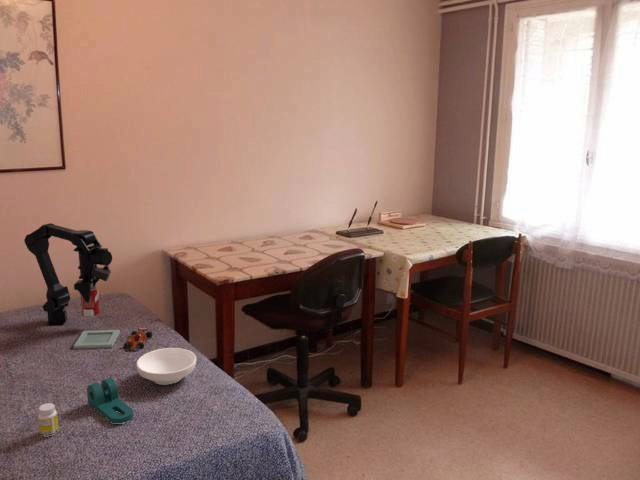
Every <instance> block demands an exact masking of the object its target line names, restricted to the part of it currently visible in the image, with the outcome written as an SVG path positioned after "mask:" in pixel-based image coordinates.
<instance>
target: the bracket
mask: <svg viewBox="0 0 640 480" xmlns="http://www.w3.org/2000/svg"><path fill="white" fill-rule="evenodd" d="M86 394H87V404H89V406H90V405H91V406H92V407H93V408H95V409H96V410H97V411H98V412H99V413H101V414H102V415H103V416H104V417H106V418H107V419H108V420H109V421H110V422H112V423H123V422H127V421H129V420H131V419H132V417H133V418H134V409H133V408H132V407H130V406H129V405H128V404H127V403H125V402H124V401H123V400H121V399H120V397H119V388H118V385H117V382H116V381H115V379H114V378H113V377H108V378H105V379H103V380H101V382H100V383H98V382H94V383H91V384H88V385H87V387H86ZM91 406H90V407H91ZM92 407H91V408H92ZM93 408H92V409H93ZM96 410H95V411H96ZM97 411H96V412H97ZM116 411H118V412H120V413H121V414H122V415H120V414H119V413H118V412H116ZM98 412H97V413H98ZM99 413H98V414H99ZM103 416H102V417H103ZM104 417H103V418H104ZM132 420H133V419H132ZM132 420H131V421H132ZM109 421H108V422H109ZM110 422H109V423H110Z"/></svg>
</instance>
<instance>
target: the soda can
mask: <svg viewBox="0 0 640 480" xmlns="http://www.w3.org/2000/svg"><path fill="white" fill-rule="evenodd" d="M79 294H80V293H79ZM99 294H100V293H99V290H98V289H97V286H94V287H93V288H92V289H91V290H90V299H89V303H86V302H85V300H84V299H83V297H82V295H81V294H80V303H81V304H80V305H81V306H80V307H81V314H82V317H83V318H86V319H87V318H88V319H92V318H96V317H98V316H100V314H101V308H100V306H101V305H100V297H99Z"/></svg>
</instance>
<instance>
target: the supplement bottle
mask: <svg viewBox="0 0 640 480" xmlns="http://www.w3.org/2000/svg"><path fill="white" fill-rule="evenodd" d="M37 417H38V427H39V434H41V435H46V436H47V435H52V434H54V433H56V432H57V431H58V430H59V431H60V429H59V427H60V426H59V421H58V419H59V418H58V411H57V410H56V407H55V404H54V403H52V402H50V403H49V402H48V403H43V404H42V405H40V406H39V407H38V416H37ZM41 435H40V436H41Z"/></svg>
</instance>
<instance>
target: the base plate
mask: <svg viewBox="0 0 640 480" xmlns="http://www.w3.org/2000/svg"><path fill="white" fill-rule="evenodd" d="M120 330H121V329H106V330H104V329H101V330H83V331H82V332H81V334H80V336H79V337H78V339H76V342H75V343H74V344H73V350H76V349H77V350H80V349H82V350H83V349H84V350H85V349H106V348H107V349H111V348H113V347H114V345H115V343H116V341H117V339H118V337H119V335H120V333H121V331H120Z"/></svg>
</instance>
